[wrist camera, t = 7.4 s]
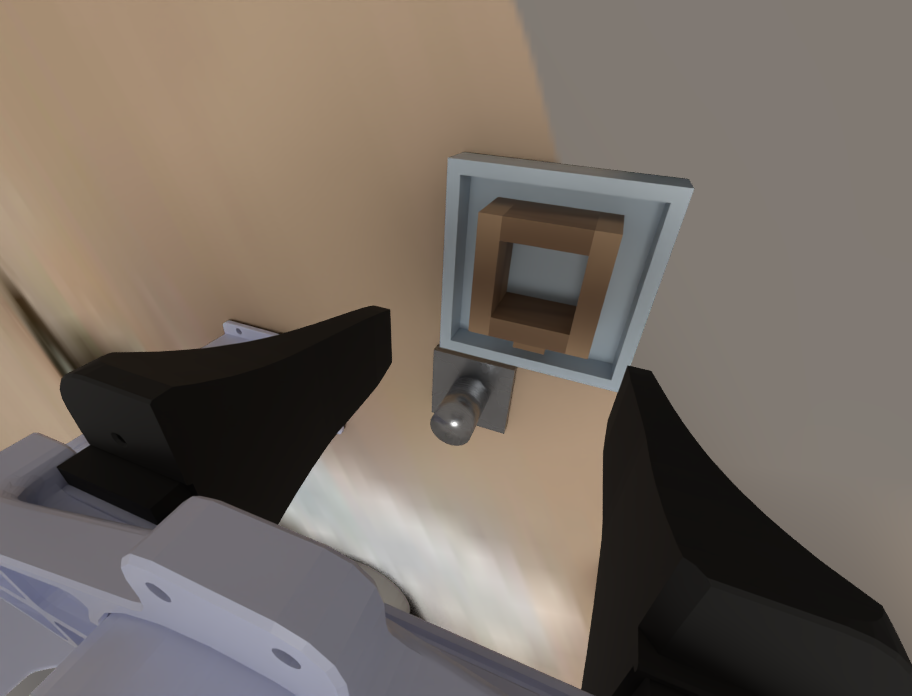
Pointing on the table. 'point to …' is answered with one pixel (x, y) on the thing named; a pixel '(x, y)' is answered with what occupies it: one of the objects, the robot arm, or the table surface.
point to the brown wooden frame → (532, 317)
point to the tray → (561, 257)
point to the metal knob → (469, 395)
